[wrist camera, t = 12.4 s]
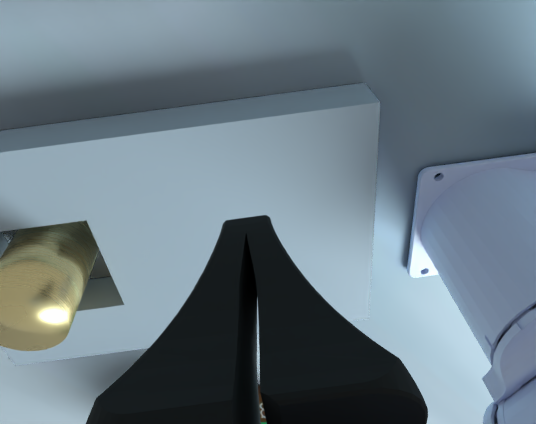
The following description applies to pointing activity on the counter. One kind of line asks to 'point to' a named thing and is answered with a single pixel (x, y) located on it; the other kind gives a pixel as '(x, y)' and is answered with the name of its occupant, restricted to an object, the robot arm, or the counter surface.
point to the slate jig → (198, 201)
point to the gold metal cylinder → (44, 283)
